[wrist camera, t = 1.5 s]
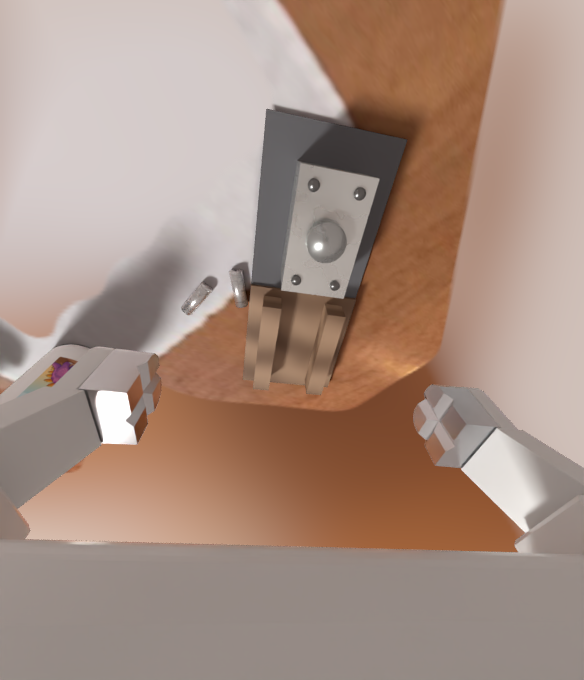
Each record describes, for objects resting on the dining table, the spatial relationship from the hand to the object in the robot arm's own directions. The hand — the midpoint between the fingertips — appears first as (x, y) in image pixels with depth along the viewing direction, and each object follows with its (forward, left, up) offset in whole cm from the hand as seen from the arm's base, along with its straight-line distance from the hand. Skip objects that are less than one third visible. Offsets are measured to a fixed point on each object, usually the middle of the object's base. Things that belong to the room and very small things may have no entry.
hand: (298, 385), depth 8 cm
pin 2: (+8, -4, -23) cm, 25 cm away
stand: (+14, +3, -23) cm, 27 cm away
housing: (0, +3, -22) cm, 23 cm away
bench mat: (0, +3, -23) cm, 23 cm away
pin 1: (+9, -9, -22) cm, 25 cm away
